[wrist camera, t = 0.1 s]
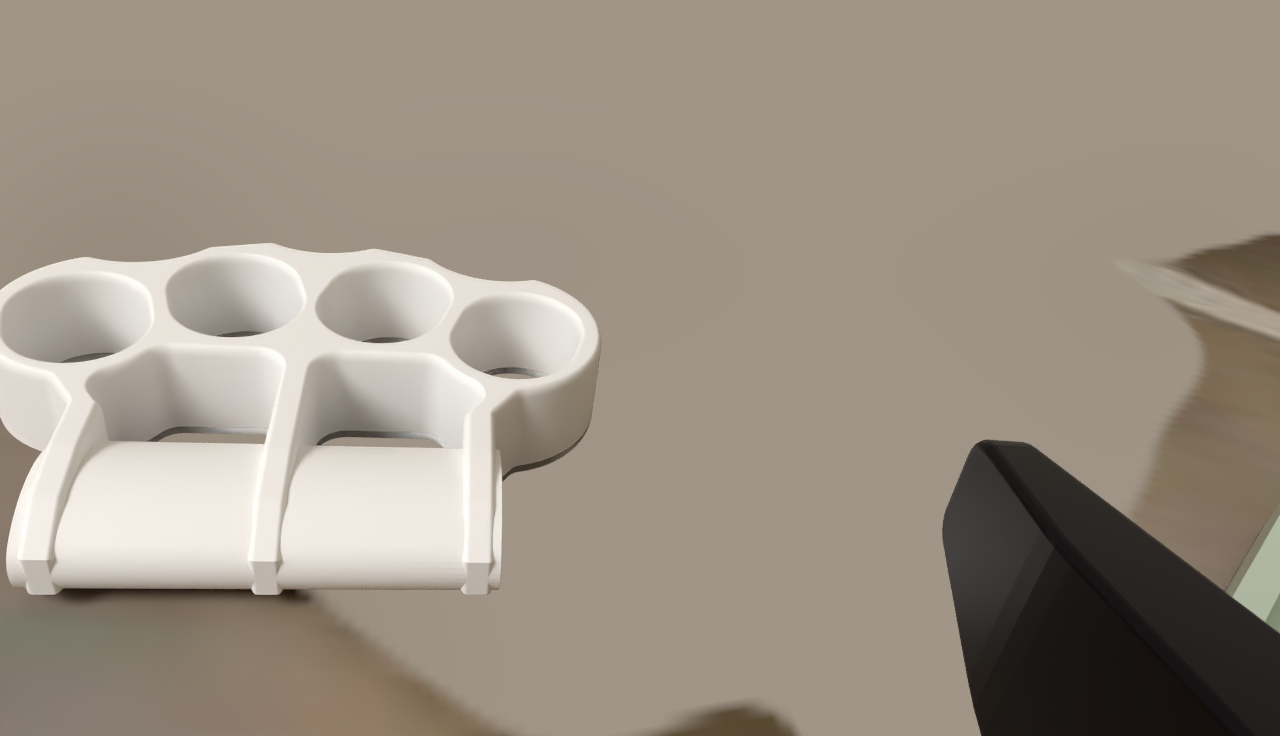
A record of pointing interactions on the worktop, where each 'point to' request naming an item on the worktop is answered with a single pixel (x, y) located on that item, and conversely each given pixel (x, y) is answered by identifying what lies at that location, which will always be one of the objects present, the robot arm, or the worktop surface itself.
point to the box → (1261, 575)
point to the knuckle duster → (280, 418)
